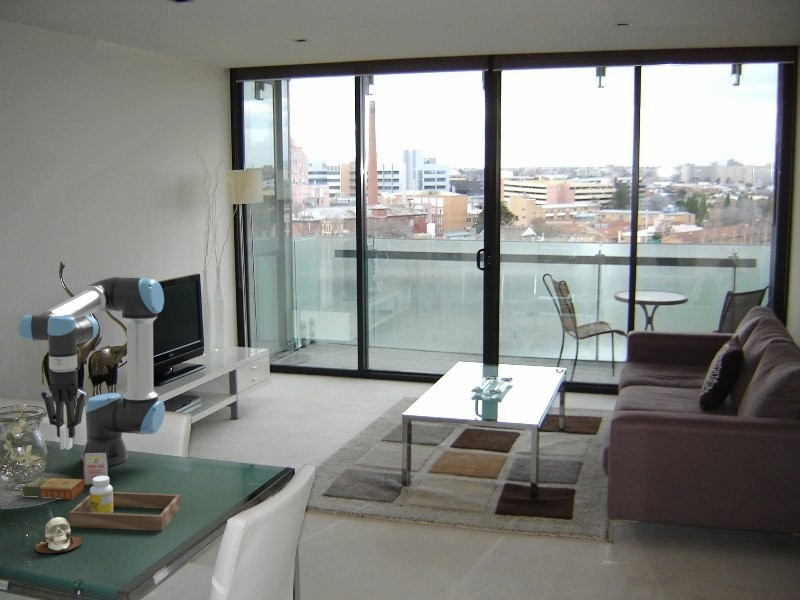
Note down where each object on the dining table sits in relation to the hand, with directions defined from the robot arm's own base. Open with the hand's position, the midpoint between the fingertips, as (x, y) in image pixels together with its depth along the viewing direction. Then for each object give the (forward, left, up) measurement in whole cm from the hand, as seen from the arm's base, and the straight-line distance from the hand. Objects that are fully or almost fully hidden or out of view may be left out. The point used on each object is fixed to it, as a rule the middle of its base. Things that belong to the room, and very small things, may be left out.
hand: (66, 447), depth 254 cm
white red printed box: (-26, -3, -21) cm, 34 cm away
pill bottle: (0, +10, -21) cm, 23 cm away
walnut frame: (0, +18, -20) cm, 27 cm away
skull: (+21, +7, -21) cm, 30 cm away
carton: (-15, -12, -21) cm, 29 cm away
